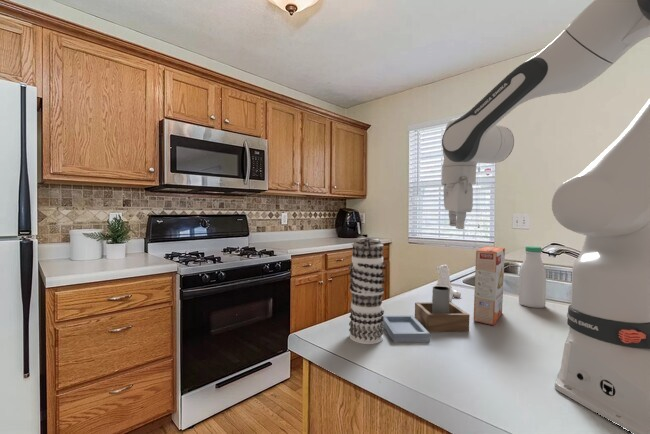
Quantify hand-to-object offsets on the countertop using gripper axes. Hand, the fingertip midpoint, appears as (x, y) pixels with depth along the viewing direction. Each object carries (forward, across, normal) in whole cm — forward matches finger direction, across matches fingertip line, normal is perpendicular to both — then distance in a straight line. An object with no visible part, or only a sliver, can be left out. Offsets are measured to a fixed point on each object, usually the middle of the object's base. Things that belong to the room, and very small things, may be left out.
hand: (456, 227), depth 90 cm
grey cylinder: (+28, -2, +3) cm, 28 cm away
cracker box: (+28, +8, -12) cm, 31 cm away
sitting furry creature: (+28, +28, -3) cm, 40 cm away
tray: (+27, -9, +14) cm, 32 cm away
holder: (+27, -2, +3) cm, 28 cm away
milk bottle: (+28, +25, -30) cm, 48 cm away
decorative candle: (+28, -16, +23) cm, 39 cm away
